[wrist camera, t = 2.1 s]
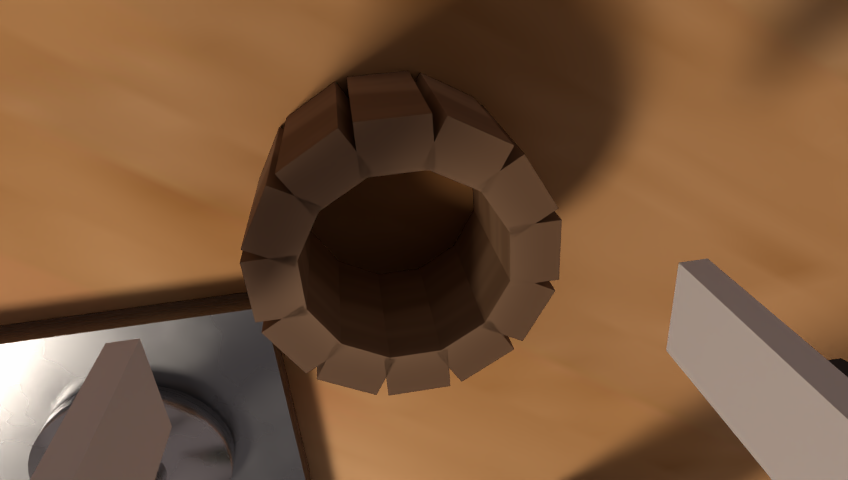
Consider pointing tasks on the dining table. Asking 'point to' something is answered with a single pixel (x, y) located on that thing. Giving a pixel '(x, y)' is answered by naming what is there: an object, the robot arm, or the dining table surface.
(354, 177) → the ring
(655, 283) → the dining table surface
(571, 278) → the dining table surface
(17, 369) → the post
